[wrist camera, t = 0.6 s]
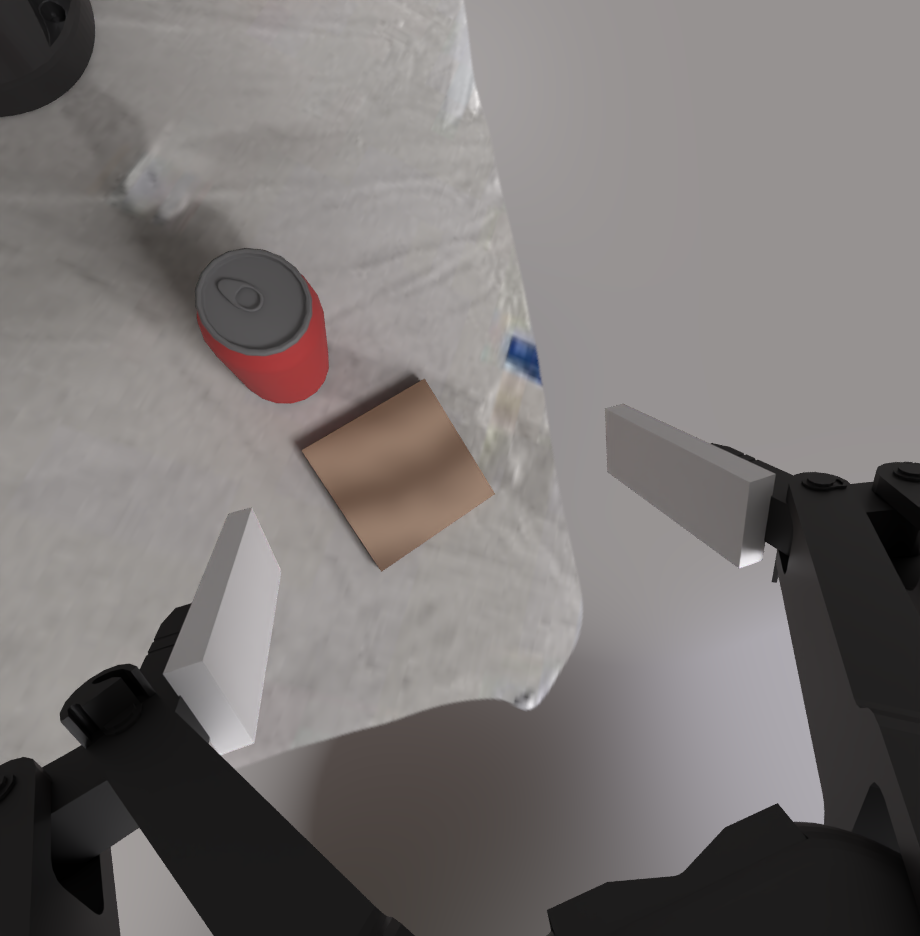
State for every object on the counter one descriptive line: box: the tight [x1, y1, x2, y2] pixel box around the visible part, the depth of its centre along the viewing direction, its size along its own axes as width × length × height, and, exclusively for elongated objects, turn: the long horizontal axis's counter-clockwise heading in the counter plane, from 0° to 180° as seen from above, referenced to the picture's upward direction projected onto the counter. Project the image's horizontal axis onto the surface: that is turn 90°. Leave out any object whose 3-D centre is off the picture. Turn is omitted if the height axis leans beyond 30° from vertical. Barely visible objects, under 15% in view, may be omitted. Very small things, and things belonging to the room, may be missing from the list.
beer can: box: [195, 248, 329, 403], centre depth 29 cm, size 7×7×12 cm
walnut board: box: [302, 379, 495, 572], centre depth 36 cm, size 11×11×1 cm
